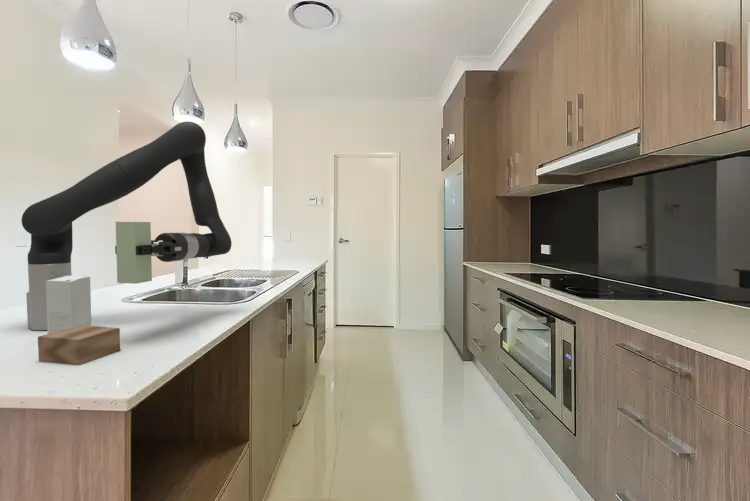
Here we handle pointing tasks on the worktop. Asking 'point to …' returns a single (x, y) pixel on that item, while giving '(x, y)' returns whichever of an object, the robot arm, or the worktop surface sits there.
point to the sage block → (133, 252)
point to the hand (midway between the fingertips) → (127, 250)
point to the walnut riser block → (78, 344)
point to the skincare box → (68, 303)
